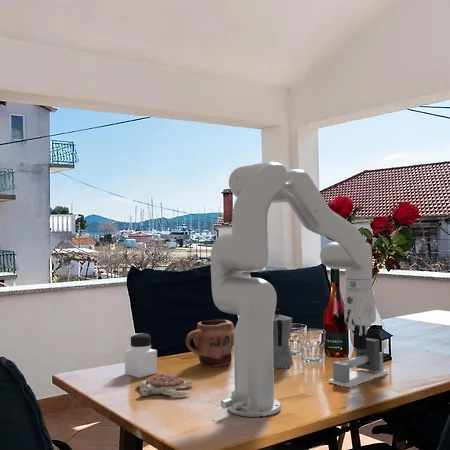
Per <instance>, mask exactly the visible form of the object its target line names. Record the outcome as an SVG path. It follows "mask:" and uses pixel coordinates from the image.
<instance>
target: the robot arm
mask: <svg viewBox="0 0 450 450" xmlns="http://www.w3.org/2000/svg"><path fill="white" fill-rule="evenodd" d="M228 186H229V187H228V188H229V190H230V192H231V193H232V195H233V196H235V197H236V199H235V201H234V203H233V208H232V216H231V217H232V221H231V223H232V224H231V228H232V229H231V232H229V233H224V234H221V235H219V236H218V237H217V238H216V239H215V241H214V242H213V244H212V245H211V246H212V247H211V250H210V277H211V278H210V279H211V280H210V281H211V294H212V299H213V303H214V305H215V307H217V309H218V310H219V311H221V312H224V313H226V314H230V315H236V316H237V315H238V317H239V318H238V320H237V323H236V325H235V326H234V328H235V331H234V345H233V359H234V360H233V361H234V362H233V363H234V366H233V368H234V369H233V372H234V390H233V391H231V396H230V397H229V398H226V399H223V400H221V401H220V402H219V403H220V407H221V409H223V410H225V409H228V411H230V412H231V413H232V414H235V415H237V416H243V417H247V418H248V417H249V418H255V417H256V418H258V417H259V418H260V416H262V417H267V415H269V416H272V415H275V414H277V413H279V412H280V411H281V409H282V407H281V406H282V405H281V402H280V401H279V400H277V399H276V398H275V385H274V384H275V383H274V382H275V380H274V379H275V375H274V374H275V373H274V371H275V369H274V365H273V321H274V315H276V313H275V309H277V301H278V299H277V298H278V297H277V292H276V290H275V287H274V286H273V285H272V284H271V283H270V282H269V281H267V280H265V279H263V278H261V277H252V276H251V277H250V276H243V272H245V273H254V272H255V273H257V272H259V271H263V270H264V269H265V268H266V266H267V265H268V261H269V238H268V236H269V235H268V233H269V232H268V214H269V210H270V207H271V206H272V204H278V203H287V204H288V205H289V206H290V208H291V209H292V210H293V213H294V214H295V216H297V218H298V220H299V221H300V223H301V225H302V226H303V227H304V228H305V229H306V230H308V231H309V232H312V233H313V234H317V235H319V236H322V237H325V238H327V239H330V240H332V241H334V242H329V243H327V244H325V245H324V246H323V247H322V248H321V249H320V253H319V258H320V261H321V263H322V265H324V266H325V267H327V268H329V269H333V270H334V269H335V270H344V273H345V274H344V275H345V276H344V277H345V278H344V279H345V294H344V295H345V296H344V305H343V306H344V308H343V311H344V312H343V313H344V314H343V315H344V323H345V324H346V325H347V330H348V331H351V333H352V335H353V337H352V338H353V348H354V349H355V350H356V349H362V350H363V349H366V338H367V334H368V328H370V327H371V326H372V324H374V323H375V322H376V320H377V311H376V301H375V293H374V289H373V256H372V255H373V254H372V253H373V251H372V245H371V244H370V243H369V242H367V241H366V239H365V238H364V236H363V235H362V233H361V232H360V230H359V229H358V228H357V227H356V226H355V225H354V224H352V222H350V221H348V220H347V219H345V218H344V217H342V216H341V215H339V214H338V213H337V212H335V211H333V210H332V209H331V208H330V206H329V205H328V203H327V202H326V201H327V200H325V198H324V196H323V195H322V194H321V192H320V190H319V189H318V187H317V186H316V184H315V182H314V180H313V179H312V178H311V176H310V174H308V172H306V170H303V169H297V168H296V169H287V168H286V167H285V166H284V165H283V164H282V163H279V162H275V161H266V162H260V163H259V162H258V163H254V164H249V165H244V166H239V167H237V168H235V169H234V170H232V172H231V173H230V175H229V177H228Z"/></svg>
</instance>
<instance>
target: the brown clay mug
mask: <svg viewBox="0 0 450 450" xmlns="http://www.w3.org/2000/svg"><path fill="white" fill-rule="evenodd" d="M234 331H235V325H234V322H232V321H230V320H228V319H211V320H203V321H200V322H198V323H197V325H196V329H195V330H191V331H190V332H189V333H187V335H186V338H185V345H186V346H187V348H188V349H189V351H190V352H191V353H192V354H195V355H196V356H197V357H198V359H199V362H200V364H201V365H202V366H206V367H220V366H225V365H228V364H231V362H232V349H233V347H234ZM192 339H193V342H194V345H195V348H193V347H192V346H191V340H192Z"/></svg>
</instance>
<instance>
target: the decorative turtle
mask: <svg viewBox="0 0 450 450" xmlns="http://www.w3.org/2000/svg"><path fill="white" fill-rule="evenodd" d="M194 384H195V383H194V381H193V380H187V381H186V380H184V379H183V378H181V377H179V376H177V375H173V374H169V373H159V374H156V375H155V374H154V376H151V377H150V378H148V379H145V380H142V381H140V382H138V383H137V384H136V386H137V387H138V388H139V395H140V396H142V397H147V396H151V395H162V394H163V395H167V396H171V397H176V398H177V397H184V396H186V395H188V394H190V393H191V391H190V390H179V389H180V388H181V387H189V386H190V387H191V386H193V385H194Z"/></svg>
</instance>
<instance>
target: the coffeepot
mask: <svg viewBox="0 0 450 450" xmlns="http://www.w3.org/2000/svg"><path fill="white" fill-rule="evenodd" d="M280 311H281V309H279V308H275V314H274V321H273V365H274V368H275V369H274V370H281V369H280V368H285V369H287V368H286V367H290V366H291V365H292V366H293V365H294V362H293V357H292V351H291V346H290V344H289V340H290V339H291V332H292V323H293V317H290V316H286V315H282V314H280ZM292 366H291V367H292ZM291 367H290V368H291ZM277 368H279V369H277Z"/></svg>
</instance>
